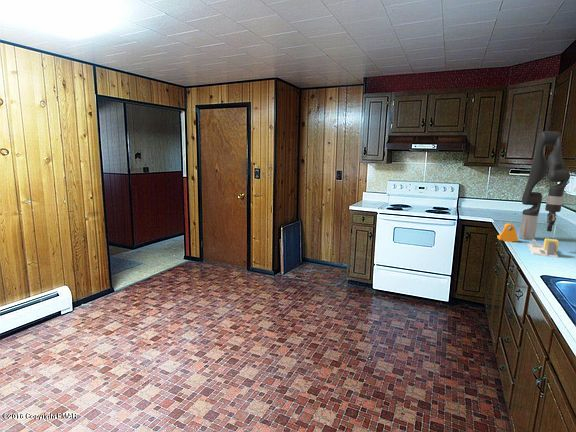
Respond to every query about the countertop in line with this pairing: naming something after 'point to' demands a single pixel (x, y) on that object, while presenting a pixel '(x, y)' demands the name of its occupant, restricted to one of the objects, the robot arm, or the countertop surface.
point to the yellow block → (546, 242)
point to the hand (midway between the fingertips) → (549, 231)
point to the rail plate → (540, 251)
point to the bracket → (508, 234)
